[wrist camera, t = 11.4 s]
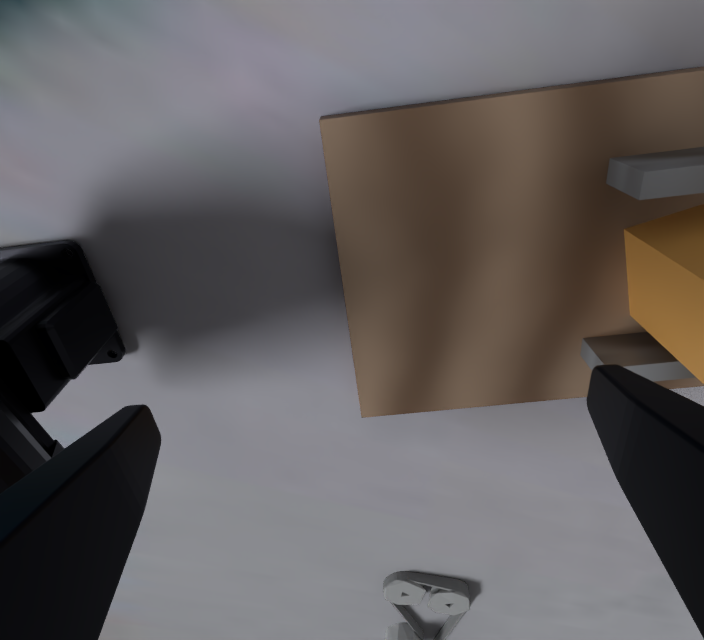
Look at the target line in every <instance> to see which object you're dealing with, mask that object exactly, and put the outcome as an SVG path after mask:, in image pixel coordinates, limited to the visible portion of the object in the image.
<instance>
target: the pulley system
mask: <svg viewBox="0 0 704 640" xmlns="http://www.w3.org/2000/svg"><path fill="white" fill-rule="evenodd" d="M424 585H427V586H431V587H432V588H431V591H430V595H429V597H430V598H429V602H428V607H429V608H430V609H431V610H433V611H434V612H435V613H442V614H448V615H450V617H449V618H448V620H447V621H446V622H445V624H444V625H443V627H442V628H441V630H440V631H439V633H438V634H437V636H436V637H435V639H434V640H445V639H446V638H447V637H448V635H449V634H450V632H451V631H452V630H453V628H454V627H455V626H456V624H457V623H458V621H459V620H460V619H461V617H462V616H463V614H464V613H465V612H466V611H468V610H470V604H471V603H470V596H469V590H468V586H467V585H466V583H465V581H461V580H458V579H453V578H448V577H441V576H434V575H428V574H421V573H415V572H408V571H400V572H395V573H393V574H391V575H389V576H388V577H386V579H385V580H384V583H383V592H384V596H385V600H387V601H390V603H391V604H392V605H393V606H394V607H395V609H396V610H397V611H398V612H399V613H400V614H401V616H402V617H403V618H404V619H405V620H406V622H407V623H397V624H394V625H392V626H390V627H388V628H387V629H386V634H385V640H423V630H422V629H421V627H420V626H419V625H418V624H417V623H416V621H415V620H414V619H413V618H412V617H411V615H410V614H409V613H408V612H407V611H406V609H405V608H404V607H403V606H402V605H419V604H420V602H421V600H422V599H423V597H424V595H425V593H426V590H425V589H424Z"/></svg>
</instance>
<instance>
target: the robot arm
mask: <svg viewBox="0 0 704 640" xmlns="http://www.w3.org/2000/svg"><path fill="white" fill-rule="evenodd" d="M66 249H69V250H70V251H71V252H72V253H73V256H71V255H69V254H68V253H67V252H66ZM111 350H114V351H116V353H117V354H115V353H113V352H112V351H111ZM125 353H126V351H125V347H124V345H123V343H122V340H121V338H120V336H119V334H118V331H117V325H116V323H115V321H114V318H113V316H112V314H111V311H110V309H109V307H108V304H107V302H106V300H105V297H104V295H103V293H102V290H101V288H100V286H99V285H98V284H97V283H96V280H95V278H94V276H93V274H92V271H91V269H90V267H89V264H88V262H87V260H86V257H85V255H84V253H83V250H82V249H81V247H80V246H79V245H78V244H77V243H76V242H73V241H68V240H66V241H58V242H50V243H41V244H33V245H24V246H16V247H8V248H0V640H98V638H99V635H100V633H101V630H102V627H103V624H104V622H105V619H106V616H107V613H108V611H109V608H110V605H111V602H112V600H113V597H114V594H115V591H116V589H117V586H118V583H119V580H120V578H121V575H122V572H123V569H124V566H125V564H126V561H127V558H128V555H129V553H130V550H131V547H132V544H133V542H134V539H135V536H136V533H137V531H138V528H139V525H140V522H141V519H142V516H143V513H144V510H145V506H146V503H147V499H148V495H149V491H150V487H151V483H152V479H153V475H154V470H155V466H156V462H157V458H158V454H159V450H160V446H161V435H160V432H159V429H158V427H157V425H156V422H155V420H154V417H153V415H152V413H151V410H150V409H149V407H148V406H146V405H143V404H142V405H131V406H126V407H124V408H122V409H121V410H119V411H118V412H117V413H115V414H114V415H112V416H111V417H109V418H108V419H106V420H105V421H104V422H102V423H101V424H99V425H98V426H96V427H95V428H94V429H92V430H91V431H89V432H88V433H86V434H85V435H84V436H82V437H81V438H79V439H78V440H76V441H75V442H74V443H72V444H71V445H69V446H68V447H66V448H65V449H64V448H63V447H62V445H61V444H60V443H59V442H58V441H57V440H53V439H52V438H51V437H50V435H49V434H48V433H47V432H46V431H45V430H44V428H43V427H42V426H41V425H40V424H39V422H38V421H37V420H36V419H35V418H34V417H33V415H32V414H31V413H33V412H42V411H44V410H45V409H46V408H47V407H48V406H49V404H50V403H51V402H52V401H53V400H54V399H55V397H56V396H57V395H58V394H59V393H60V392H61V390H62V389H63V388H64V387H65V386H66V385H67V383H68V382H69V381H70V380H71V379H76V378H77V377H78V376H79V375H80V374H81V372H82V371H83V370H84V369H85V368H86V366H87V365H92V364H102V363H111V362H118V361H120V360H121V359H122V358H123V356H124V355H125ZM587 407H588V410H589V413H590V416H591V418H592V420H593V423H594V425H595V428H596V430H597V433H598V435H599V438H600V440H601V443H602V445H603V447H604V450H605V452H606V455H607V457H608V460H609V462H610V465H611V467H612V469H613V472H614V474H615V476H616V478H617V480H618V482H619V484H620V486H621V488H622V490H623V492H624V494H625V496H626V497H627V499H628V501H629V503H630V505H631V506H632V508H633V510H634V512H635V514H636V516H637V517H638V519H639V521H640V523H641V525H642V527H643V528H644V530H645V532H646V534H647V536H648V538H649V539H650V541H651V543H652V545H653V547H654V549H655V550H656V552H657V554H658V556H659V558H660V559H661V561H662V563H663V565H664V567H665V569H666V570H667V572H668V574H669V576H670V578H671V580H672V581H673V583H674V585H675V587H676V589H677V591H678V592H679V594H680V596H681V598H682V600H683V601H684V603H685V605H686V607H687V609H688V611H689V612H690V614H691V616H692V618H693V620H694V622H695V623H696V625H697V627H698V629H699V631H700V633H701V634H702V636H703V638H704V406H702V405H700V404H698V403H696V402H694V401H692V400H690V399H688V398H686V397H683V396H681V395H679V394H677V393H675V392H673V391H671V390H669V389H667V388H665V387H663V386H661V385H659V384H657V383H655V382H653V381H651V380H649V379H647V378H645V377H643V376H641V375H639V374H637V373H634V372H632V371H630V370H628V369H626V368H624V367H622V366H620V365H618V364H607V365H597V366H595V367H594V368H593V370H592V373H591V378H590V383H589V389H588V394H587Z"/></svg>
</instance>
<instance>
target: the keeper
mask: <svg viewBox="0 0 704 640" xmlns="http://www.w3.org/2000/svg"><path fill="white" fill-rule="evenodd" d="M319 122H320V129H321V136H322V143H323V150H324V157H325V164H326V171H327V178H328V185H329V192H330V199H331V206H332V213H333V220H334V227H335V234H336V241H337V248H338V255H339V262H340V269H341V276H342V283H343V290H344V297H345V304H346V311H347V318H348V325H349V332H350V339H351V346H352V353H353V360H354V367H355V374H356V381H357V388H358V395H359V402H360V409H361V416H362V418H363V417H374V416H385V415H396V414H406V413H417V412H428V411H439V410H449V409H460V408H471V407H482V406H493V405H503V404H514V403H525V402H536V401H546V400H557V399H568V398H579V397H587V394H588V389H589V383H590V378H591V373H592V370H593V368H594V367H595V366H597V365H607V364H618V365H620V366H622V367H624V368H626V369H628V370H630V371H632V372H634V373H637V374H639V375H641V376H643V377H645V378H647V379H649V380H651V381H653V382H655V383H657V384H659V385H661V386H663V387H665V388H667V389H676V388H687V387H697V386H704V384H703V383H702V382H701V381H700V380H699V379H698V378H696V377H695V376H694V375H693V374H692V373H691V372H690V371H689V370H688V369H687V368H686V367H685V366H684V365H683V364H682V363H680V362H679V361H678V360H677V359H676V358H675V357H674V356H673V355H672V354H671V353H670V352H669V351H668V350H667V349H666V348H664V347H663V346H662V345H661V344H660V343H659V342H658V341H657V340H656V339H655V338H654V337H653V336H652V335H651V334H650V333H648V332H647V331H646V330H645V329H644V328H643V327H642V326H641V325H640V324H639V323H638V322H637V321H636V320H635V319H634V318H632V317H631V316H630V309H629V295H628V281H627V266H626V252H625V238H624V229H626V228H629V227H632V226H635V225H638V224H641V223H645V222H648V221H651V220H654V219H657V218H660V217H664V216H667V215H670V214H673V213H676V212H679V211H683V210H686V209H689V208H692V207H695V206H698V205H702V204H704V67H697V68H689V69H681V70H674V71H666V72H658V73H651V74H643V75H635V76H628V77H620V78H612V79H605V80H597V81H589V82H582V83H574V84H566V85H559V86H551V87H543V88H536V89H528V90H520V91H513V92H505V93H497V94H490V95H482V96H474V97H467V98H459V99H451V100H444V101H436V102H428V103H421V104H413V105H405V106H397V107H390V108H382V109H374V110H367V111H359V112H351V113H344V114H336V115H328V116H321V117H320V120H319Z"/></svg>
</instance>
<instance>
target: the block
mask: <svg viewBox="0 0 704 640" xmlns="http://www.w3.org/2000/svg"><path fill="white" fill-rule="evenodd" d="M624 238H625V252H626V266H627V281H628V295H629V309H630V316H631V317H632V318H634V319H635V320H636V321H637V322H638V323H639V324H640V325H641V326H642V327H643V328H644V329H645V330H646V331H647V332H648V333H650V334H651V335H652V336H653V337H654V338H655V339H656V340H657V341H658V342H659V343H660V344H661V345H662V346H663V347H664V348H666V349H667V350H668V351H669V352H670V353H671V354H672V355H673V356H674V357H675V358H676V359H677V360H678V361H679V362H680V363H682V364H683V365H684V366H685V367H686V368H687V369H688V370H689V371H690V372H691V373H692V374H693V375H694V376H695V377H696V378H698V379H699V380H700V381H701V382H702V383H703V384H704V204H702V205H698V206H695V207H692V208H689V209H686V210H683V211H679V212H676V213H673V214H670V215H667V216H664V217H660V218H657V219H654V220H651V221H648V222H645V223H641V224H638V225H635V226H632V227H629V228H626V229H624Z"/></svg>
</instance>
